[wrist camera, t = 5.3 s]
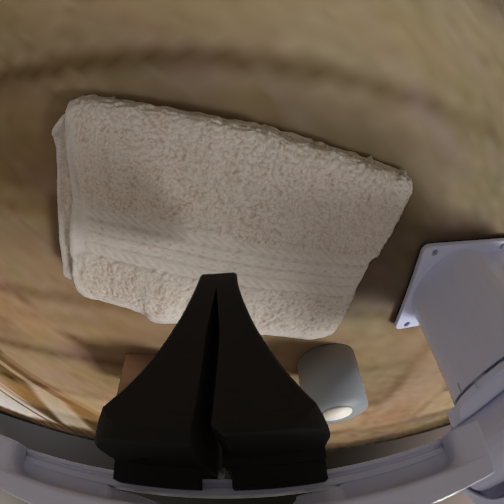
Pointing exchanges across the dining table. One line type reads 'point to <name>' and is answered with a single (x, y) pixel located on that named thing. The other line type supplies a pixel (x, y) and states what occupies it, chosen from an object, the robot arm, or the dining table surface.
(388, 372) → the dining table surface
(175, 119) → the washcloth
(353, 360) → the slate cylinder
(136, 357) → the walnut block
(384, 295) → the dining table surface
